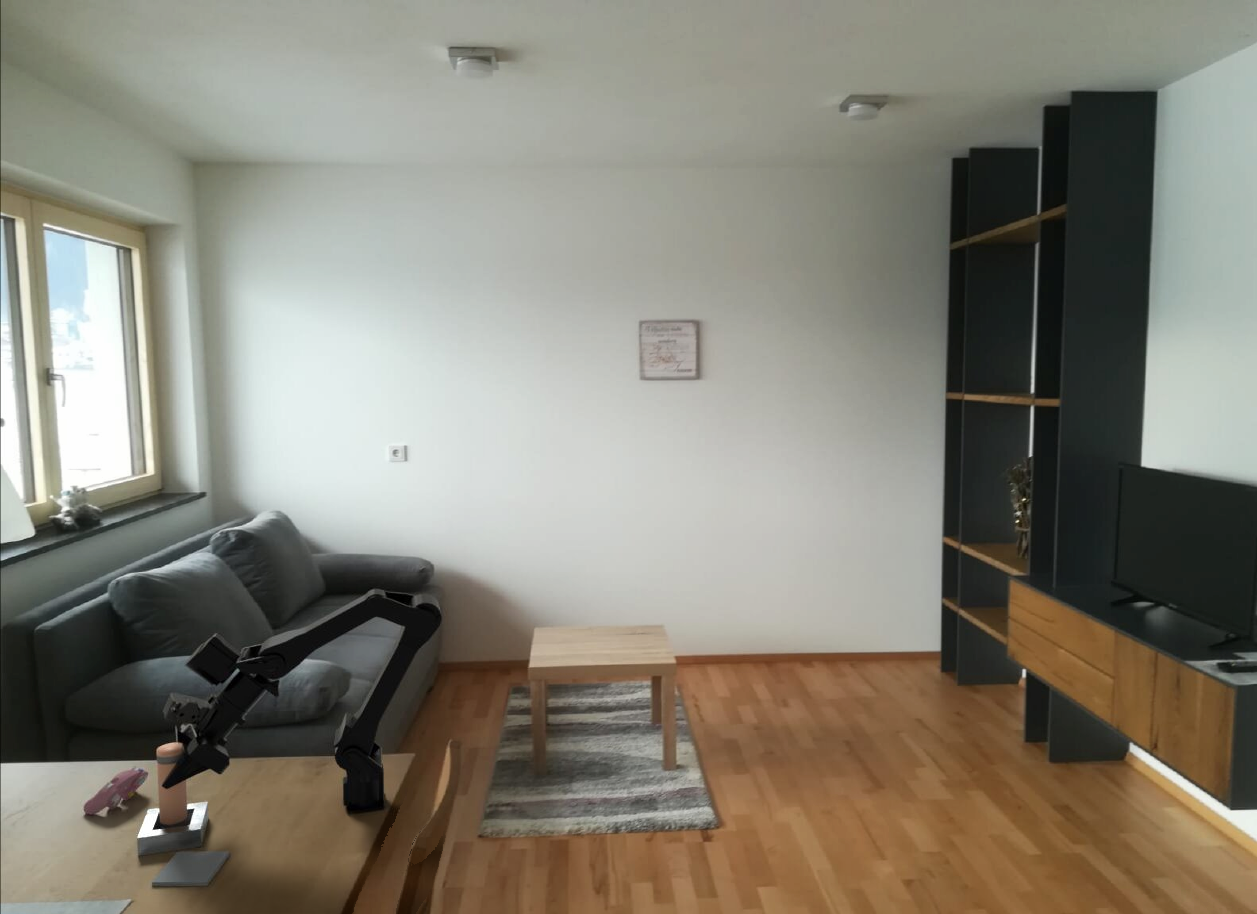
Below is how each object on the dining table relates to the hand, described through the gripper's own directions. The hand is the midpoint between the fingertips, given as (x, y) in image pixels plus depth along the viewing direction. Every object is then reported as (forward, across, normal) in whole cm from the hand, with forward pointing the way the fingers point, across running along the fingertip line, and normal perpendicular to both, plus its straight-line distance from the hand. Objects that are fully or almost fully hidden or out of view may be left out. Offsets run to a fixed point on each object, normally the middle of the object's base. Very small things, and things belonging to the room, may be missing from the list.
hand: (162, 781), depth 139 cm
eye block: (+6, 0, +8) cm, 10 cm away
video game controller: (+11, -17, +3) cm, 20 cm away
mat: (+5, +12, +9) cm, 15 cm away
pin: (+4, 0, +6) cm, 7 cm away
